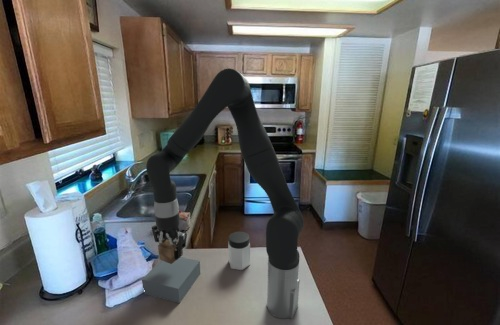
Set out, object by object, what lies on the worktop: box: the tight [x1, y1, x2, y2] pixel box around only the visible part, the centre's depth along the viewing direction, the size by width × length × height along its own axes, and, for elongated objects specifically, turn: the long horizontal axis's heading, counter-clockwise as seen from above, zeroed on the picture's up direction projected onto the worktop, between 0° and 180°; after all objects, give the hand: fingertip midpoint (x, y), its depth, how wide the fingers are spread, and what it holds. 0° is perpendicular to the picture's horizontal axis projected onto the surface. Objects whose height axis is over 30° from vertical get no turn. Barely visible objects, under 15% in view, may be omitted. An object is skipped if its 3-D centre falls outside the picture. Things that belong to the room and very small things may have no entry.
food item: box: [178, 209, 191, 232], centre depth 119 cm, size 14×8×10 cm, turn 84°
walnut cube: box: [157, 238, 184, 264], centre depth 81 cm, size 6×6×6 cm
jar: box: [227, 231, 251, 271], centre depth 93 cm, size 9×8×12 cm
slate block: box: [141, 256, 201, 304], centre depth 84 cm, size 14×14×6 cm
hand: (171, 255), depth 82 cm, fingers closed on walnut cube, 5 cm apart
